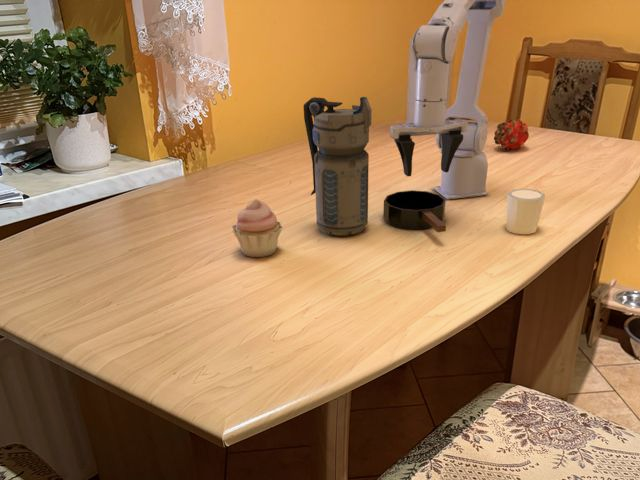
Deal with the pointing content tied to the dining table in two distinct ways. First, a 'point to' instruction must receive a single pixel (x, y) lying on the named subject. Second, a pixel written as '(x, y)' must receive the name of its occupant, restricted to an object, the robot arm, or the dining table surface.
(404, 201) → the skillet
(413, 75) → the cylinder vase
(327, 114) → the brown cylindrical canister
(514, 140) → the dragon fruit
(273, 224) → the cupcake
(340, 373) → the dining table surface
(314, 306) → the dining table surface
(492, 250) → the dining table surface
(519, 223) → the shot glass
